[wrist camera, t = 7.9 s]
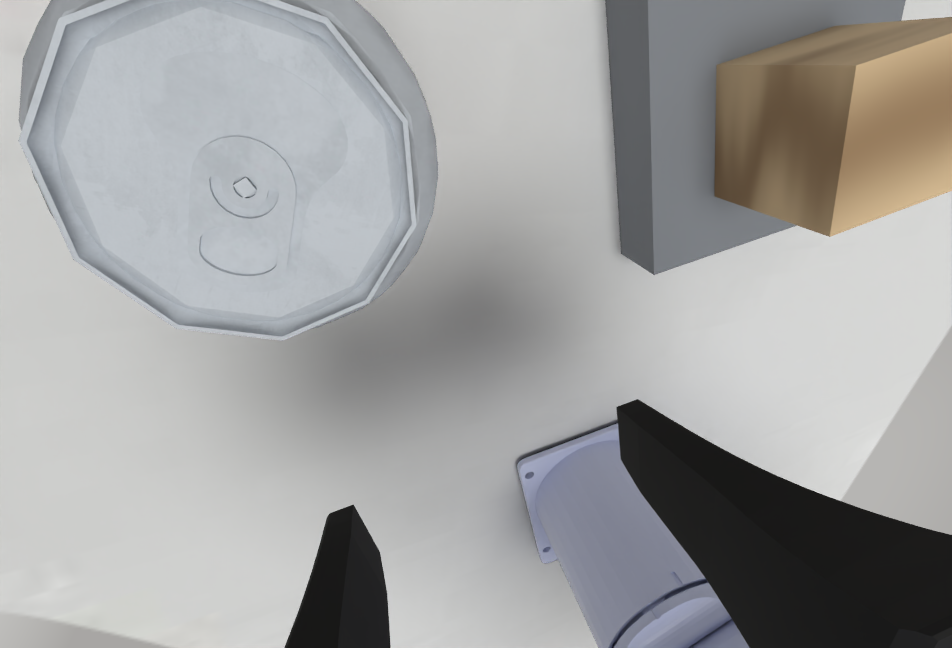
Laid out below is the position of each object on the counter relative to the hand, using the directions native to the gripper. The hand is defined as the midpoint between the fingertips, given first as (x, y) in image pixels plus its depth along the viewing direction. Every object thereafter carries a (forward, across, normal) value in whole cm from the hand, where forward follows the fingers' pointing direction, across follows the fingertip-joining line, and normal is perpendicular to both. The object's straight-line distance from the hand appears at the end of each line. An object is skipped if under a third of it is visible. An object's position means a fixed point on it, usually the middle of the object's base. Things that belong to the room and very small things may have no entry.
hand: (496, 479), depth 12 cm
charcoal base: (+10, -14, -5) cm, 18 cm away
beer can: (+10, +2, -9) cm, 13 cm away
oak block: (+7, -14, -5) cm, 16 cm away
